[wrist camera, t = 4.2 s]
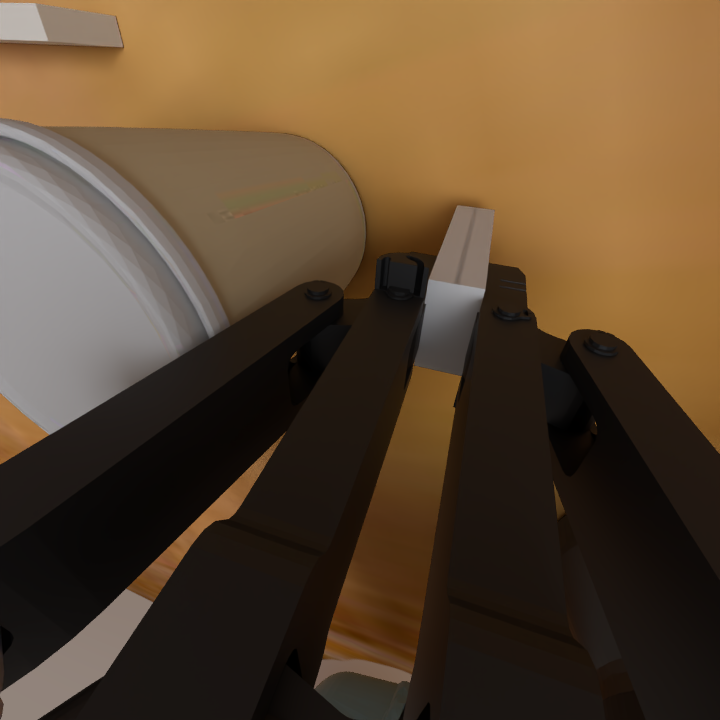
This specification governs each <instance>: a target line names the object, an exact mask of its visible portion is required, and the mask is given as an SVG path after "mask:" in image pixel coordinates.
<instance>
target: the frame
mask: <svg viewBox="0 0 720 720" xmlns="http://www.w3.org/2000/svg"><path fill="white" fill-rule="evenodd" d="M0 43H22V44H48V45H75V46H101V47H123V44H122V40H121V36H120V32H119V28H118V24H117V20H116V16H112V15H105V14H99V13H93V12H87V11H80V10H74V9H68V8H62V7H55V6H49V5H43V4H37V3H0Z"/></svg>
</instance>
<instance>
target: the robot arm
mask: <svg viewBox="0 0 720 720" xmlns="http://www.w3.org/2000/svg"><path fill="white" fill-rule="evenodd" d="M494 212H495V210H490V209H483V208H475V207H468V206H460V205H457V207H456V210H455V213H454V215H453V218H452V220H451V223H450V225H449V228H448V231H447V233H446V236H445V238H444V241H443V244H442V246H441V249H440V251H439V254H438V256H434V255H428V254H421V253H415V252H411V253H388V254H385V255H381V256H380V257H379V258H378V259H377V265H376V278H375V289H374V291H373V292H372V294H371V296H370V297H369V298H366V299H343V298H344V292H343V290H342V288H341V287H340V286H338V285H336V284H334V283H331V282H326V281H323V280H320V281H319V280H313V281H310V282H305V283H302V284H300V285H298V286H296V287H294V288H293V289H291V290H289V291H288V292H286V293H284V294H283V295H281V296H279V297H278V298H276V299H274V300H273V301H271V302H269V303H268V304H266V305H264V306H263V307H261V308H259V309H258V310H256V311H255V312H253V313H251V314H250V315H248V316H246V317H245V318H243V319H241V320H240V321H238V322H236V323H235V324H233V325H231V326H230V327H228V328H226V329H225V330H223V331H221V332H220V333H218V334H216V335H215V336H213V337H211V338H210V339H208V340H206V341H205V342H203V343H201V344H200V345H198V346H196V347H195V348H193V349H191V350H190V351H188V352H186V353H185V354H183V355H182V356H180V357H178V358H177V359H175V360H173V361H172V362H170V363H168V364H167V365H165V366H163V367H162V368H160V369H158V370H157V371H155V372H153V373H152V374H150V375H148V376H147V377H145V378H143V379H142V380H140V381H138V382H137V383H135V384H133V385H132V386H130V387H128V388H127V389H125V390H123V391H122V392H120V393H118V394H117V395H115V396H114V397H112V398H110V399H109V400H107V401H105V402H104V403H102V404H100V405H99V406H97V407H95V408H94V409H92V410H90V411H89V412H87V413H85V414H84V415H82V416H80V417H79V418H77V419H75V420H74V421H72V422H70V423H69V424H67V425H65V426H64V427H62V428H60V429H59V430H57V431H55V432H54V433H52V434H50V435H49V436H47V437H45V438H44V439H42V440H41V441H39V442H37V443H36V444H34V445H32V446H31V447H29V448H27V449H26V450H24V451H22V452H21V453H19V454H17V455H16V456H14V457H12V458H11V459H9V460H7V461H6V462H4V463H2V464H1V465H0V692H1V691H3V690H4V689H6V688H7V687H9V686H10V685H12V684H13V683H15V682H16V681H17V680H19V679H20V678H22V677H23V676H25V675H26V674H27V673H29V672H30V671H32V670H33V669H35V668H36V667H37V666H39V665H40V664H41V663H42V662H44V661H45V660H46V659H48V658H49V657H50V656H51V655H52V654H54V653H55V652H56V651H58V650H59V649H60V648H61V647H63V646H64V645H65V644H66V643H68V642H69V641H70V640H71V639H73V638H74V637H75V636H76V635H77V634H78V633H79V632H80V631H82V630H83V629H84V628H85V627H86V626H87V625H88V624H89V623H90V622H91V621H93V620H94V619H95V618H96V617H97V616H98V615H99V614H100V613H101V612H102V611H104V610H105V609H106V608H107V606H109V605H110V604H111V603H112V602H113V601H114V600H115V599H116V598H117V597H118V596H119V595H120V594H121V593H122V592H123V591H124V590H125V589H126V588H127V587H128V586H129V585H130V584H131V583H132V582H133V581H134V580H135V579H136V578H137V577H138V576H139V575H140V574H141V573H142V572H143V571H144V570H145V569H146V568H147V567H148V566H149V565H151V564H152V563H153V562H154V561H155V560H156V559H157V558H158V557H159V556H160V555H161V554H162V553H163V552H164V551H165V550H166V549H167V548H168V547H169V546H170V545H171V544H172V543H173V542H174V541H175V540H176V539H177V538H178V537H179V536H180V535H181V534H182V533H183V532H184V531H185V530H186V529H187V528H188V527H189V526H190V525H191V524H192V523H193V522H194V521H195V520H196V519H197V518H198V517H199V516H200V515H201V514H202V513H203V512H204V511H206V510H207V509H208V508H209V507H210V506H211V505H212V504H213V503H214V502H215V501H216V500H217V499H218V498H219V497H220V496H221V495H222V494H223V493H224V492H225V491H226V490H227V489H228V488H229V487H230V486H231V485H232V484H233V483H234V482H235V481H236V480H237V479H238V478H239V477H240V476H241V475H242V474H243V473H244V472H245V471H246V470H247V469H248V468H249V467H250V466H251V465H252V464H253V463H254V462H255V461H256V460H257V459H258V458H259V457H260V456H262V455H263V454H264V453H265V452H266V451H267V450H268V449H269V448H270V447H271V446H272V445H273V444H274V443H275V442H276V441H277V440H278V439H279V438H280V437H281V436H282V435H283V434H284V433H285V432H286V431H287V432H286V433H285V435H284V436H283V438H282V440H281V441H280V443H279V445H278V446H277V448H276V449H275V451H274V453H273V454H272V456H271V458H270V459H269V461H268V462H267V464H266V466H265V467H264V469H263V471H262V472H261V474H260V475H259V477H258V479H257V480H256V482H255V483H254V485H253V487H252V488H251V490H250V492H249V493H248V495H247V496H246V498H245V500H244V501H243V503H242V505H241V506H240V508H239V509H238V510H237V512H236V513H235V514H234V515H233V516H232V517H231V518H229V519H226V520H219V521H215V522H213V523H212V524H211V525H210V526H208V527H207V528H206V529H204V530H203V532H202V533H201V534H200V535H199V537H198V538H197V539H196V540H195V542H194V543H193V544H192V545H191V547H190V548H189V550H188V551H187V553H186V554H185V556H184V557H183V559H182V560H181V562H180V563H179V565H178V566H177V568H176V569H175V571H174V572H173V574H172V575H171V577H170V578H169V580H168V581H167V583H166V584H165V586H164V587H163V589H162V590H161V592H160V593H159V595H158V596H157V598H156V599H155V601H154V602H153V604H152V605H151V607H150V608H149V610H148V611H147V613H146V614H145V616H144V617H143V619H142V620H141V622H140V623H139V625H138V626H137V628H136V629H135V631H134V632H133V634H132V635H131V637H130V639H129V640H128V641H127V643H126V644H125V646H124V647H123V649H122V650H121V652H120V653H119V655H118V656H117V658H116V659H115V661H114V662H113V664H112V665H111V667H110V668H109V670H108V671H107V673H106V674H105V676H104V677H102V678H100V679H99V680H97V681H95V682H94V683H92V684H91V685H89V686H88V687H86V688H85V689H83V690H82V691H81V692H79V693H77V694H76V695H74V696H73V697H71V698H70V699H68V700H67V701H65V702H64V703H62V704H61V705H59V706H58V707H56V708H55V709H53V710H52V711H50V712H49V713H47V714H46V715H44V716H43V717H41V718H40V719H38V720H720V454H719V453H718V452H717V450H716V449H715V448H714V447H713V446H712V444H711V443H710V442H709V441H708V440H707V438H706V437H705V436H704V435H703V434H702V432H701V431H700V430H699V429H698V428H697V426H696V425H695V424H694V423H693V422H692V420H691V419H690V418H689V417H688V416H687V414H686V413H685V412H684V411H683V410H682V408H681V407H680V406H679V405H678V404H677V402H676V401H675V400H674V399H673V398H672V396H671V395H670V394H669V393H668V392H667V390H666V389H665V388H664V387H663V386H662V384H661V383H660V382H659V381H658V380H657V378H656V377H655V376H654V375H653V374H652V372H651V371H650V370H649V369H648V368H647V366H646V365H645V364H644V363H643V361H642V360H641V359H640V358H639V357H638V355H637V354H636V353H635V352H634V351H633V349H632V348H631V347H630V346H628V345H627V344H626V343H625V342H624V341H622V340H620V339H619V338H617V337H615V336H614V335H612V334H610V333H605V332H604V331H600V330H590V329H582V330H576V331H574V332H571V334H570V336H569V338H568V340H567V341H565V340H562V339H560V338H557V337H554V336H552V335H550V334H547V333H545V332H543V331H542V330H540V329H538V328H537V320H536V317H535V315H534V313H533V312H532V311H531V310H530V309H528V308H527V293H526V278H525V275H524V274H523V273H522V272H521V271H520V269H519V268H516V267H510V266H503V265H497V264H491V263H489V255H490V246H491V238H492V229H493V220H494ZM295 352H296V353H297V355H296V356H295V357H293V358H292V359H291V357H292V355H293V354H294V353H295ZM414 361H415V363H414ZM413 363H414V365H415V366H419V367H424V368H428V369H433V370H437V371H442V372H446V373H451V374H455V375H459V376H462V377H461V381H460V384H459V388H458V392H457V395H456V399H455V403H454V406H453V407H455V414H454V420H453V427H452V433H451V439H450V445H449V452H448V458H447V464H446V471H445V477H444V483H443V490H442V496H441V502H440V509H439V515H438V521H437V527H436V534H435V540H434V546H433V553H432V559H431V565H430V572H429V578H428V584H427V591H426V597H425V603H424V610H423V616H422V622H421V628H420V635H419V641H418V647H417V653H416V659H415V664H414V669H413V673H412V677H411V681H410V683H409V682H407V681H402V682H401V683H399V684H397V683H393V682H389V681H385V680H381V679H377V678H373V677H369V676H366V675H361V674H358V673H354V672H340V673H336V674H333V675H331V676H329V677H328V678H326V679H325V680H324V681H322V682H321V683H320V684H319V685H318V686H317V687H316V688H315V689H314V685H315V681H316V678H317V675H318V672H319V668H320V665H321V661H322V657H323V654H324V649H325V644H326V640H327V635H328V631H329V628H330V624H331V621H332V617H333V614H334V611H335V608H336V605H337V602H338V599H339V596H340V593H341V590H342V587H343V584H344V581H345V577H346V574H347V571H348V568H349V565H350V562H351V559H352V556H353V553H354V550H355V547H356V544H357V541H358V538H359V535H360V532H361V529H362V525H363V522H364V519H365V516H366V513H367V510H368V507H369V504H370V501H371V498H372V495H373V492H374V489H375V486H376V483H377V480H378V477H379V473H380V470H381V467H382V464H383V461H384V458H385V455H386V452H387V449H388V446H389V443H390V440H391V437H392V434H393V431H394V428H395V425H396V421H397V418H398V415H399V412H400V409H401V406H402V403H403V400H404V397H405V394H406V391H407V388H408V385H409V382H410V379H411V375H412V369H413ZM595 421H596V425H597V427H596V425H595ZM553 481H554V484H555V486H556V489H557V492H558V494H559V497H560V499H561V502H562V505H563V507H564V510H565V512H566V516H564V517H563V518H562V519H561V520H560V521H558V523H557V513H556V504H555V494H554V484H553ZM3 705H4V704H3V702H2V700H1V698H0V719H1V717H2V711H3Z"/></svg>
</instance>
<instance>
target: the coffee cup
mask: <svg viewBox="0 0 720 720" xmlns="http://www.w3.org/2000/svg"><path fill="white" fill-rule="evenodd" d="M365 240H366V223H365V215H364V211H363V207H362V203H361V200H360V197H359V195H358V192H357V190H356V188H355V186H354V184H353V182H352V180H351V179H350V177H349V175H348V174H347V172H346V171H345V170H344V169H343V167H342V166H341V165H340V164H339V162H338V161H337V160H336V159H335V158H334V157H333V156H332V155H331V154H330V153H328V152H327V151H326V150H325V149H323V148H322V147H320V146H319V145H317V144H315V143H313V142H312V141H309V140H307V139H305V138H302V137H299V136H295V135H290V134H284V133H273V132H249V131H222V130H194V129H160V128H123V127H43V126H37V125H34V124H31V123H28V122H23V121H17V120H12V119H2V118H0V393H1V394H2V395H3V396H4V397H5V398H7V399H8V400H9V401H10V402H11V403H12V404H13V405H14V406H15V407H16V408H18V409H19V410H20V411H21V412H22V413H23V414H24V415H26V416H27V417H28V418H29V419H31V420H32V421H33V422H34V423H36V424H37V425H38V426H39V427H41V428H42V429H43V430H44V431H46V432H47V433H48V434H52V433H54V432H55V431H57V430H59V429H60V428H62V427H64V426H65V425H67V424H69V423H70V422H72V421H74V420H75V419H77V418H79V417H80V416H82V415H84V414H85V413H87V412H89V411H90V410H92V409H94V408H95V407H97V406H99V405H100V404H102V403H104V402H105V401H107V400H109V399H110V398H112V397H114V396H115V395H117V394H118V393H120V392H122V391H123V390H125V389H127V388H128V387H130V386H132V385H133V384H135V383H137V382H138V381H140V380H142V379H143V378H145V377H147V376H148V375H150V374H152V373H153V372H155V371H157V370H158V369H160V368H162V367H163V366H165V365H167V364H168V363H170V362H172V361H173V360H175V359H177V358H178V357H180V356H182V355H183V354H185V353H186V352H188V351H190V350H191V349H193V348H195V347H196V346H198V345H200V344H201V343H203V342H205V341H206V340H208V339H210V338H211V337H213V336H215V335H216V334H218V333H220V332H221V331H223V330H225V329H226V328H228V327H230V326H231V325H233V324H235V323H236V322H238V321H240V320H241V319H243V318H245V317H246V316H248V315H250V314H251V313H253V312H255V311H256V310H258V309H259V308H261V307H263V306H264V305H266V304H268V303H269V302H271V301H273V300H274V299H276V298H278V297H279V296H281V295H283V294H284V293H286V292H288V291H289V290H291V289H293V288H294V287H296V286H298V285H300V284H302V283H305V282H310V281H313V280H319V281H320V280H323V281H326V282H331V283H334V284H336V285H338V286H340V287H341V288H342V290H343V291H344V289H345V288H346V287H347V285H348V284H349V283H350V281H351V280H352V278H353V277H354V275H355V273H356V272H357V270H358V268H359V265H360V263H361V260H362V257H363V253H364V249H365Z"/></svg>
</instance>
